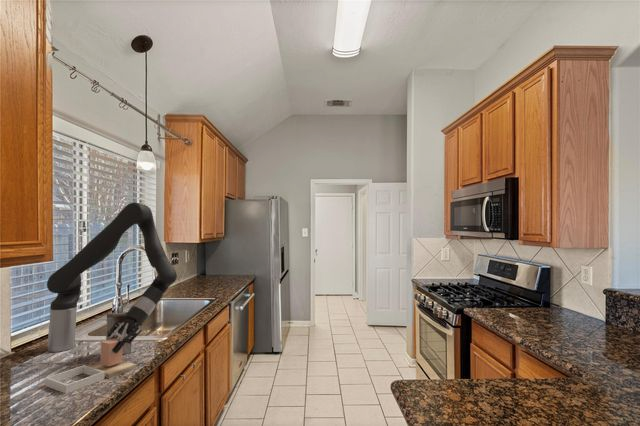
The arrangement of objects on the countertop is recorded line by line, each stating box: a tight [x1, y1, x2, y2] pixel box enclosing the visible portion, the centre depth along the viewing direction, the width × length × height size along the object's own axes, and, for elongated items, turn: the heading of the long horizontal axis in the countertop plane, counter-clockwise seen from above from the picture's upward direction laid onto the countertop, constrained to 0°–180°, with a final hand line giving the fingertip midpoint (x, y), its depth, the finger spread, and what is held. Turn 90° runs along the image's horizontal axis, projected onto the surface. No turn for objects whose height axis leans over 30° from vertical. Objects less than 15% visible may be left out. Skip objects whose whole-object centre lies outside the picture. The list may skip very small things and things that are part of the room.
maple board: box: [87, 360, 137, 379], centre depth 125 cm, size 14×10×2 cm
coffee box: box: [105, 311, 132, 355], centre depth 142 cm, size 9×6×16 cm
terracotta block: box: [99, 338, 123, 367], centre depth 125 cm, size 5×5×8 cm
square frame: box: [44, 364, 106, 394], centre depth 114 cm, size 12×12×2 cm
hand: (109, 350), depth 125 cm, fingers closed on terracotta block, 5 cm apart
